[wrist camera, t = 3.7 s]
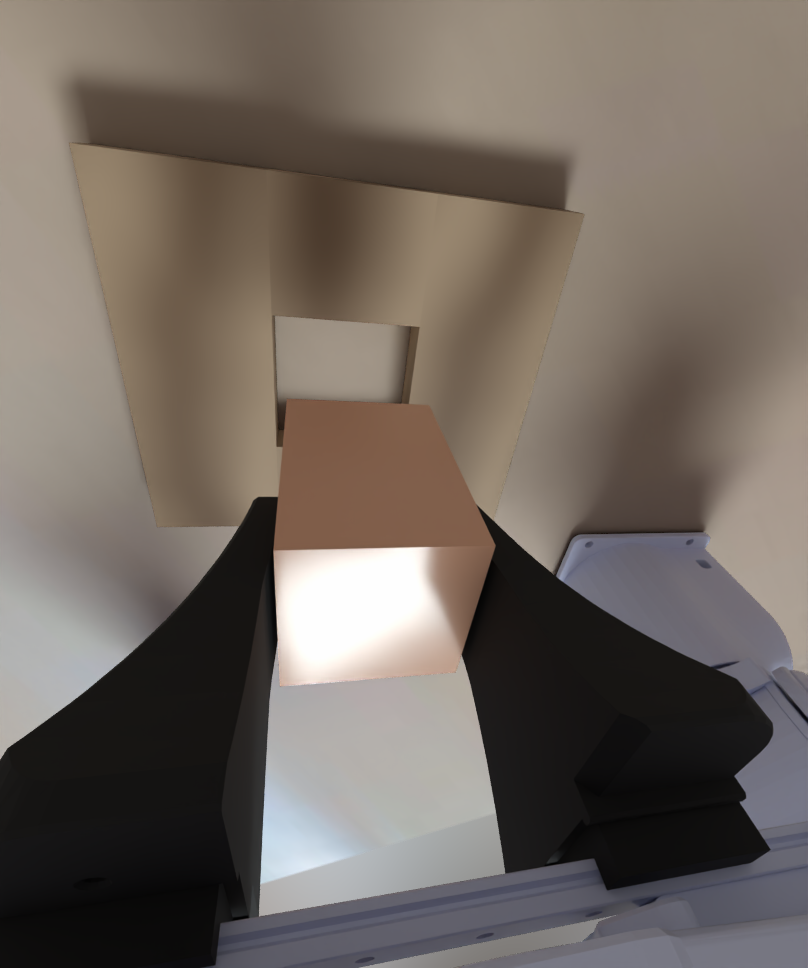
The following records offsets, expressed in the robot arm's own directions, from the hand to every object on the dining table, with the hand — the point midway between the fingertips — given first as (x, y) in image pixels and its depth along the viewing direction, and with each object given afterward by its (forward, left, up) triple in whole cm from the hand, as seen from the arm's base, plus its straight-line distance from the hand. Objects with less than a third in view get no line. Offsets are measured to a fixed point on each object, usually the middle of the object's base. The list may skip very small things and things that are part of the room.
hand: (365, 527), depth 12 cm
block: (0, 0, -3) cm, 3 cm away
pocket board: (0, 0, -10) cm, 10 cm away
